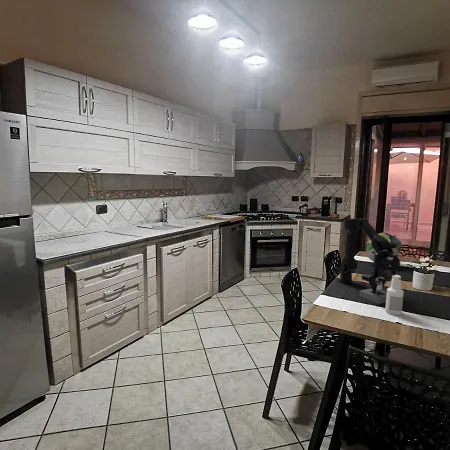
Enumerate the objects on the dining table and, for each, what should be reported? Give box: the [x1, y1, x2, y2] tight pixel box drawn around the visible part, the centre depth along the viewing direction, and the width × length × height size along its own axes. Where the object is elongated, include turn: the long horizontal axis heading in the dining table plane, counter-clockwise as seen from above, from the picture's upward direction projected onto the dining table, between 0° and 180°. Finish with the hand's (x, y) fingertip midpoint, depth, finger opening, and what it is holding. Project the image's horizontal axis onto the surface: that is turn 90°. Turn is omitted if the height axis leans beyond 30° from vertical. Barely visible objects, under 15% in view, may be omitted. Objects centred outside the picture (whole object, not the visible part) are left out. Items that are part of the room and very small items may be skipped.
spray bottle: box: [384, 274, 404, 316], centre depth 146 cm, size 7×7×18 cm
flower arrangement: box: [366, 232, 403, 263], centre depth 228 cm, size 25×25×24 cm
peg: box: [373, 280, 383, 295], centre depth 165 cm, size 4×4×8 cm
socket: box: [358, 288, 387, 305], centre depth 165 cm, size 12×12×3 cm
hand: (377, 291), depth 165 cm, fingers closed on peg, 4 cm apart
